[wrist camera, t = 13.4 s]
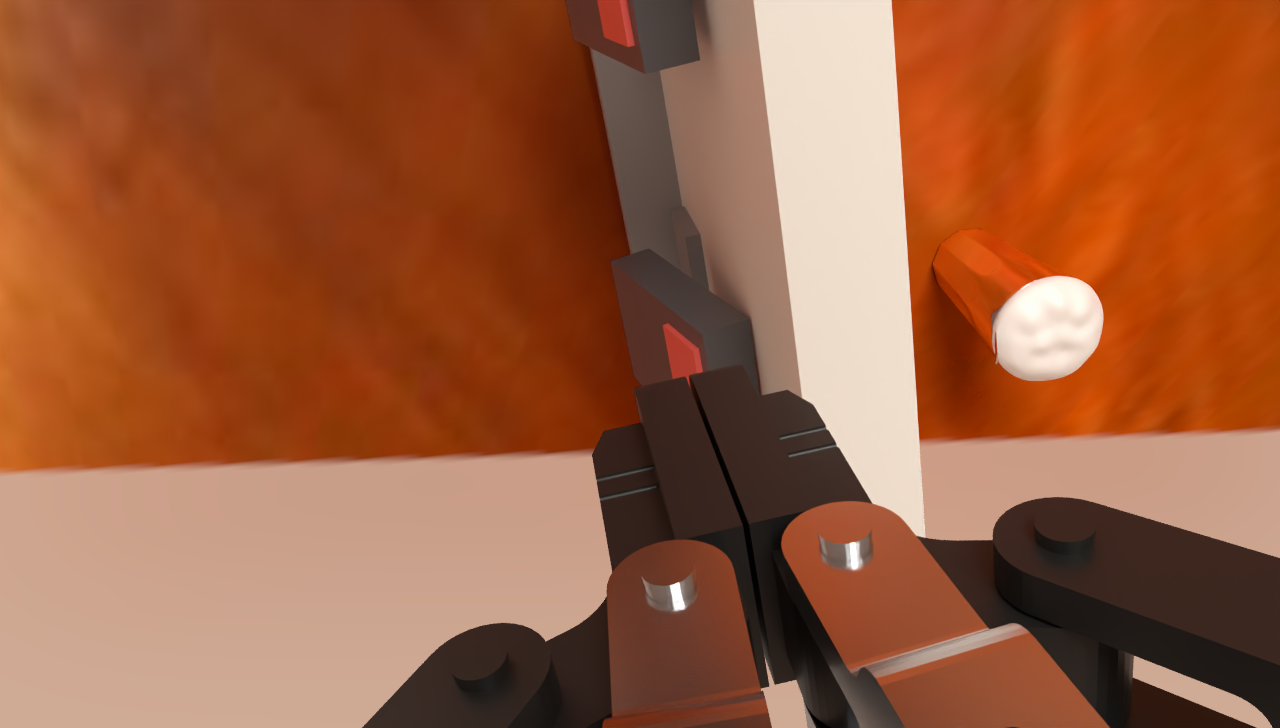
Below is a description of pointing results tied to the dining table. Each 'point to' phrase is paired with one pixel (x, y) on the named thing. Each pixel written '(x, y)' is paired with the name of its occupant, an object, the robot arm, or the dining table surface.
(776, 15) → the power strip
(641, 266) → the rocker outlet
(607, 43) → the rocker outlet
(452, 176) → the dining table surface
